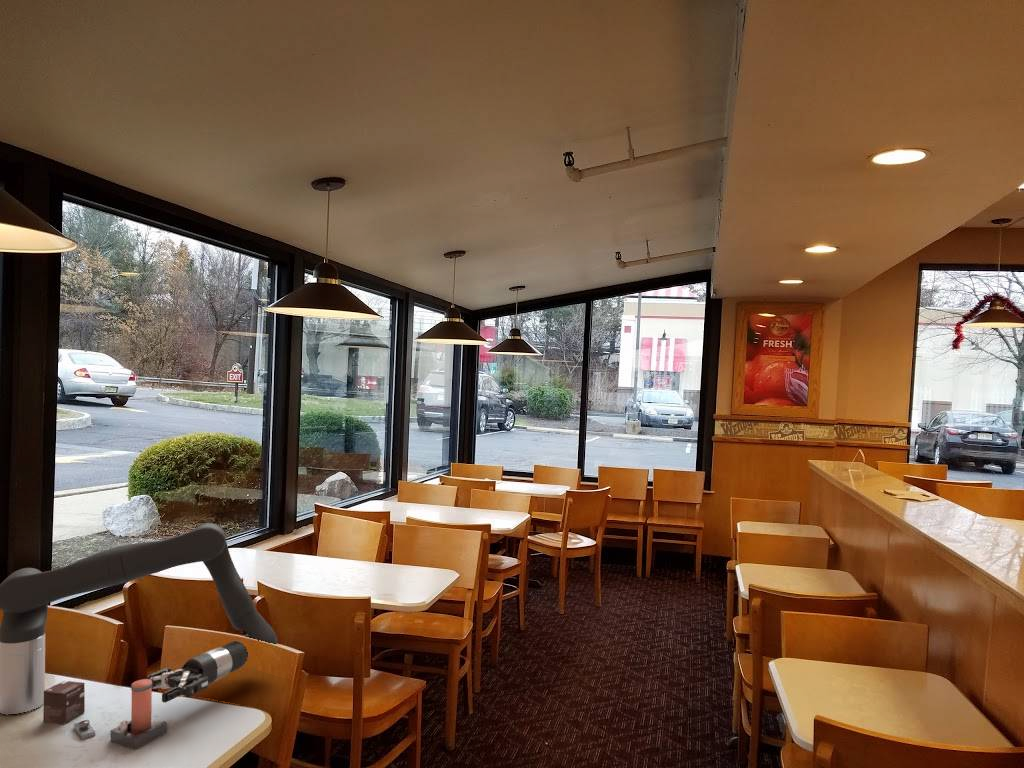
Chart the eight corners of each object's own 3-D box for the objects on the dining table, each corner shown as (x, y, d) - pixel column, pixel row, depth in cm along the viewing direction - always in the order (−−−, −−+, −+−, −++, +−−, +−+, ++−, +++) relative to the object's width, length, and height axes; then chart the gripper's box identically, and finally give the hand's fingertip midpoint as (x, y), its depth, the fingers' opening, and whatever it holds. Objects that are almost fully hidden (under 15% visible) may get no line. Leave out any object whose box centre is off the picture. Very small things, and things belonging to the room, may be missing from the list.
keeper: (108, 742, 152) (108, 719, 152) (142, 725, 159) (143, 703, 159) (133, 750, 149) (133, 727, 148) (167, 732, 156) (167, 711, 156)
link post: (128, 735, 155) (128, 682, 155) (148, 729, 158) (148, 677, 158) (134, 742, 152) (134, 688, 152) (154, 735, 155) (155, 683, 155)
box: (64, 725, 159) (64, 693, 159) (42, 722, 160) (42, 691, 160) (85, 712, 165) (85, 682, 165) (64, 710, 166) (64, 679, 166)
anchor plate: (73, 728, 158) (73, 718, 158) (86, 724, 160) (86, 714, 160) (82, 739, 153) (82, 729, 153) (94, 735, 155) (95, 725, 155)
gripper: (187, 647, 174) (128, 672, 159) (229, 657, 168) (171, 684, 153) (187, 677, 174) (128, 704, 159) (229, 688, 168) (171, 717, 154)
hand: (150, 694), depth 156 cm, fingers open, 8 cm apart
